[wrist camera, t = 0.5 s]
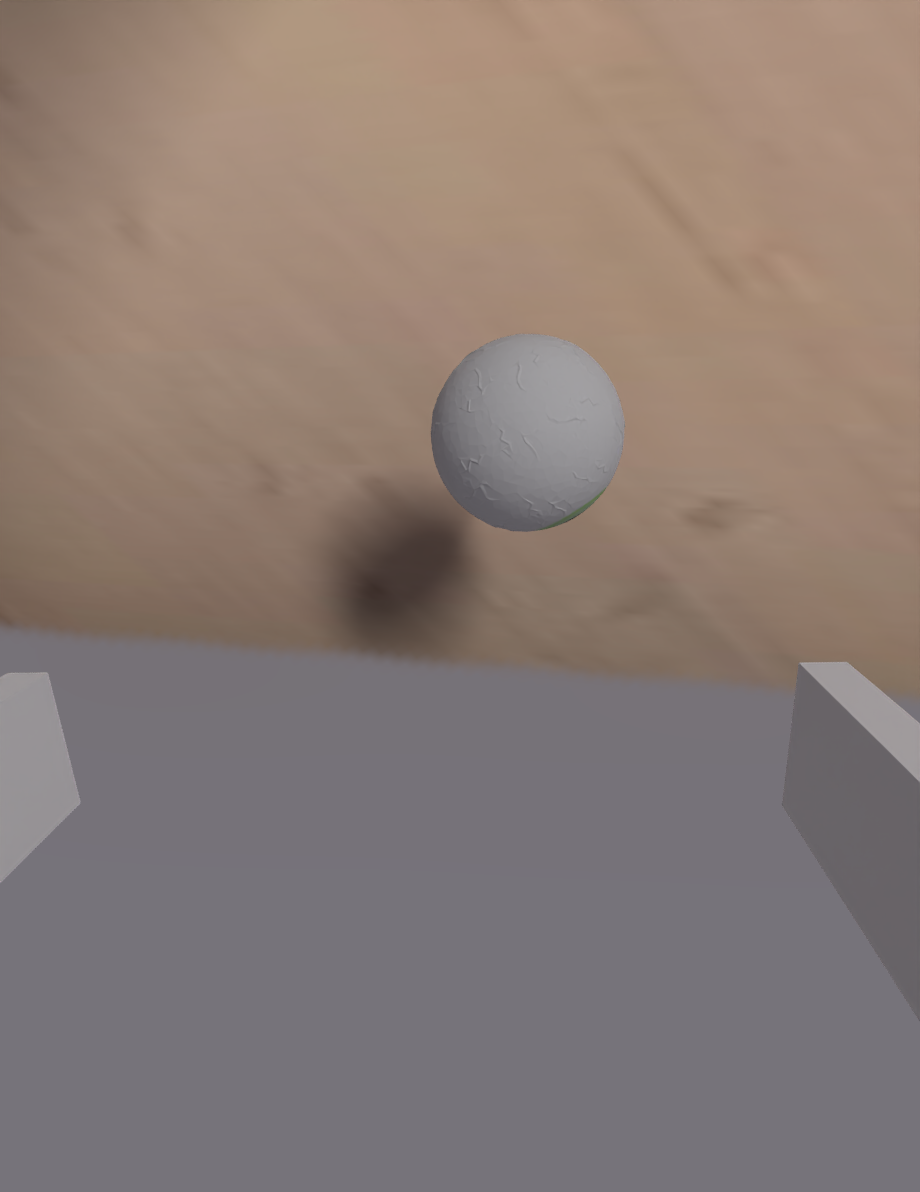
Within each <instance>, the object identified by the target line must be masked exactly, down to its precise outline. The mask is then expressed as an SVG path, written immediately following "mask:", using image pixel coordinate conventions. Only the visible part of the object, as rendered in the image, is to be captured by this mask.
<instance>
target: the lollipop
mask: <svg viewBox="0 0 920 1192" xmlns="http://www.w3.org/2000/svg"><path fill="white" fill-rule="evenodd" d="M624 427H625V422H624V417H623V411H622V408H621V404H620V400H619V397H618V395H617V392H616V390H615V388H614V386H613V384H612V382H611V380H610V379H609V377H608V375H607V374H606V372H605V371H604V370H603V369H602V368H601V366H600V365H599V364H598V363H597V362H596V361H595V360H594V359H593V358H592V357H591V356H590V355H589V354H588V353H586V352H585V351H584V350H582V349H581V348H580V347H578V346H577V345H575V344H573V343H571V342H569V341H566V340H561V339H559V338H556V337H552V336H547V335H540V334H516V335H512V336H507V337H503V338H500V339H497V340H494V341H491V342H490V343H487V344H485V345H483V346H482V347H480V348H479V349H477V350H475V351H473V352H471V353H470V354H469V355H467V356H466V357H465V358H464V359H463V360H462V362H461V363H460V364H459V365H458V366H457V367H456V369H455V370H454V371H453V372H452V373H451V375H450V376H449V378H448V379H447V381H446V383H445V385H444V387H443V388H442V390H441V392H440V394H439V396H438V398H437V402H436V404H435V407H434V410H433V416H432V427H431V442H432V450H433V456H434V461H435V464H436V467H437V469H438V472H439V475H440V477H441V479H442V481H443V483H444V484H445V486H446V488H447V489H448V491H449V492H450V493H451V495H452V496H453V497H454V499H455V500H456V501H457V502H458V503H459V504H460V505H461V506H462V507H463V508H465V509H466V510H467V511H468V512H470V513H471V514H472V515H474V516H475V517H477V518H478V519H480V520H482V521H484V522H485V523H487V524H489V525H491V526H494V527H499V528H503V529H507V530H510V531H526V532H528V531H537V530H543V529H547V528H551V527H555V526H558V525H560V524H562V523H565V522H567V521H569V520H571V519H573V518H575V517H576V516H578V515H579V514H581V513H582V512H584V511H585V510H586V509H587V508H588V507H590V506H591V505H592V504H593V503H594V502H595V501H596V500H597V499H598V498H599V497H600V495H601V494H602V493H603V492H604V490H605V489H606V487H607V486H608V485H609V483H610V481H611V480H612V478H613V476H614V474H615V471H616V469H617V466H618V463H619V460H620V457H621V454H622V449H623V440H624Z"/></svg>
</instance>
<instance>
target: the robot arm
mask: <svg viewBox="0 0 920 1192" xmlns="http://www.w3.org/2000/svg"><path fill="white" fill-rule="evenodd" d="M80 803H81V802H80V799H79V794H78V791H77V786H76V783H75V779H74V775H73V771H72V766H71V763H70V759H69V755H68V751H67V747H66V743H65V739H64V735H63V731H62V727H61V723H60V719H59V715H58V711H57V707H56V703H55V699H54V696H53V692H52V688H51V684H50V679H49V675H48V673H7V674H5V675H4V676H2V677H1V678H0V883H1V882H2V881H3V880H4V879H5V878H6V877H7V876H8V875H9V874H10V873H11V872H12V871H13V870H14V869H15V868H16V867H17V866H18V865H19V864H20V863H21V862H22V861H23V860H24V859H25V858H26V857H27V856H28V855H29V854H30V853H31V852H32V851H33V850H34V849H35V848H36V847H37V846H38V845H39V844H40V843H41V842H42V841H43V840H44V839H45V838H46V837H47V836H48V835H49V834H50V833H51V832H52V831H53V830H54V829H55V828H56V827H57V826H58V825H59V824H60V823H61V822H62V821H63V820H64V819H65V818H66V817H67V816H68V815H69V814H70V813H71V812H72V811H73V810H74V809H75V808H76V807H77V806H78V805H79V804H80ZM782 806H783V807H784V809H785V811H786V812H787V814H788V815H789V817H790V818H791V820H792V822H793V823H794V825H795V826H796V828H797V829H798V831H799V832H800V834H801V836H802V837H803V839H804V840H805V842H806V844H807V845H808V847H809V848H810V850H811V851H812V853H813V855H814V856H815V858H816V859H817V861H818V862H819V864H820V866H821V867H822V869H823V870H824V872H825V873H826V875H827V877H828V878H829V880H830V881H831V883H832V884H833V886H834V887H835V889H836V891H837V892H838V894H839V895H840V897H841V899H842V900H843V902H844V903H845V905H846V906H847V908H848V910H849V911H850V913H851V914H852V916H853V917H854V919H855V921H856V922H857V924H858V925H859V927H860V928H861V930H862V931H863V933H864V935H865V936H866V938H867V939H868V941H869V943H870V944H871V946H872V947H873V949H874V950H875V952H876V953H877V955H878V957H879V958H880V960H881V961H882V963H883V965H884V966H885V967H886V969H887V971H888V972H889V974H890V976H891V977H892V979H893V980H894V982H895V983H896V985H897V987H898V988H899V990H900V991H901V993H902V994H903V996H904V998H905V999H906V1001H907V1002H908V1003H909V1005H910V1007H911V1008H912V1010H913V1012H914V1013H915V1015H916V1016H917V1018H918V1019H919V1021H920V723H918V722H917V721H916V720H915V719H913V717H911V716H910V715H909V714H908V713H907V712H905V711H904V710H903V709H902V708H901V707H900V706H898V705H897V704H896V703H895V702H894V701H892V700H891V699H890V698H889V697H888V696H887V695H885V694H884V693H883V692H882V691H881V690H879V689H878V688H877V687H876V686H875V685H874V684H872V683H871V682H870V681H869V680H868V679H866V678H865V677H864V676H863V675H862V674H861V673H859V672H858V671H857V670H856V669H855V668H853V667H852V666H851V665H850V664H849V663H848V662H810V663H799V665H798V674H797V682H796V691H795V699H794V708H793V716H792V725H791V734H790V742H789V750H788V759H787V767H786V776H785V784H784V793H783V801H782Z"/></svg>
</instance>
